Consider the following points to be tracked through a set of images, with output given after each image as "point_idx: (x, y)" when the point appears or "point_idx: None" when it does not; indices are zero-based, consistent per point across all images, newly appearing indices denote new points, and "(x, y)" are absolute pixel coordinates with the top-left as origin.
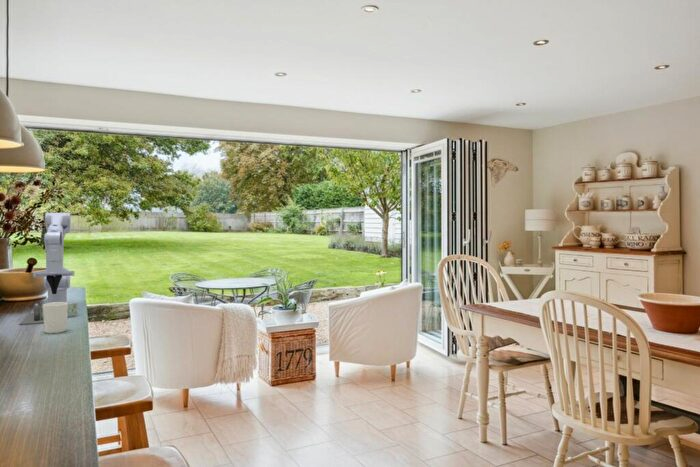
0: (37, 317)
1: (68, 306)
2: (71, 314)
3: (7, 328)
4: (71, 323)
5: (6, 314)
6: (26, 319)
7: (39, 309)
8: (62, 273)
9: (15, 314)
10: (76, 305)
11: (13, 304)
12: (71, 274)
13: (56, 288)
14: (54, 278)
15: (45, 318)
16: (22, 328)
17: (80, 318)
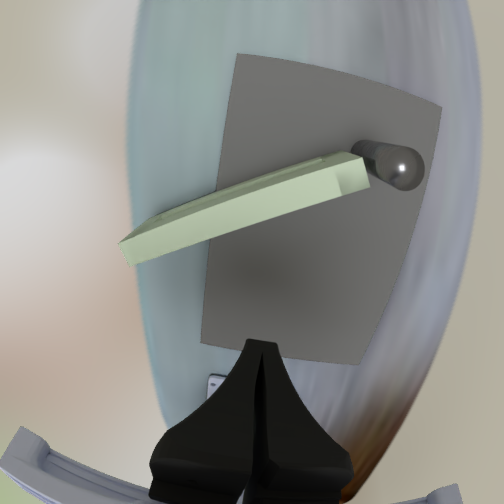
0: (369, 140)
1: (175, 216)
2: (176, 208)
3: (473, 64)
4: (191, 11)
5: (419, 387)
6: (407, 213)
7: (373, 152)
8: (110, 501)
9: (398, 379)
10: (130, 234)
11: (349, 483)
12: (33, 450)
13: (235, 366)
14: (243, 457)
15: None
16: (420, 17)
17: (138, 134)
